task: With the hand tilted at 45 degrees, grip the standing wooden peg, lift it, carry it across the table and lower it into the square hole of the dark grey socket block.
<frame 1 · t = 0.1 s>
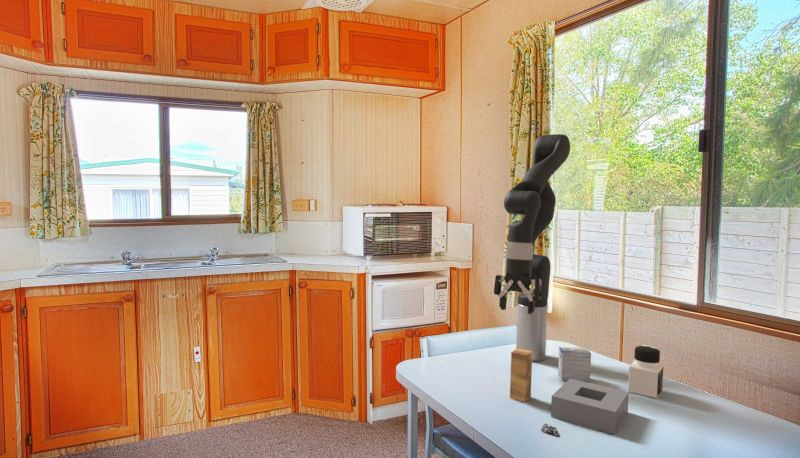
hand: (516, 311, 146), 17 cm above the table, tool pointing down, fingers open, 8 cm apart
medicine box: (573, 379, 139), on the table
wooden peg: (520, 397, 125), on the table
medicine bottle: (645, 392, 131), on the table
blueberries: (552, 434, 107), on the table
socket block: (589, 414, 116), on the table
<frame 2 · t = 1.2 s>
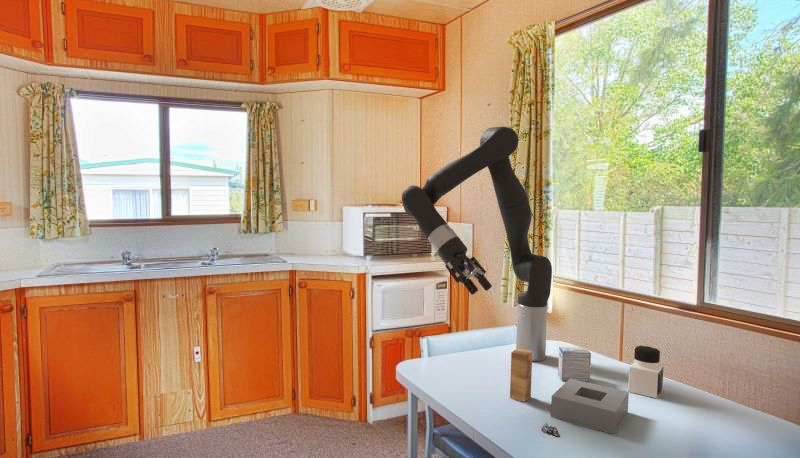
hand: (482, 290, 130), 26 cm above the table, tool tilted 45°, fingers open, 8 cm apart
nothing on the table moved.
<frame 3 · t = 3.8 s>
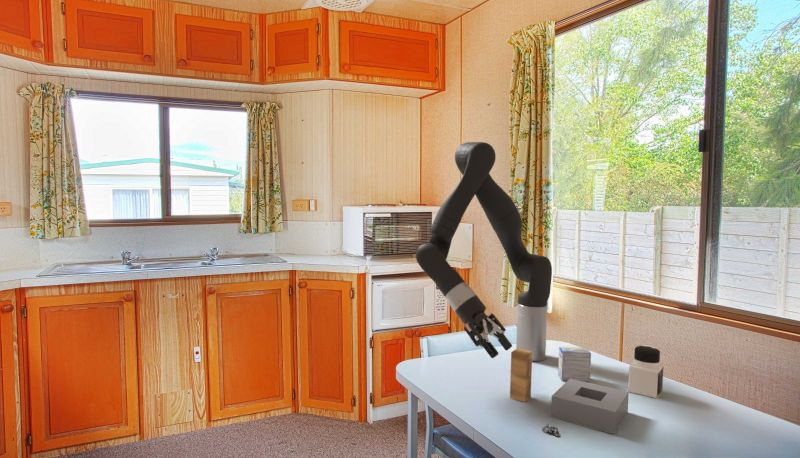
hand: (502, 352, 128), 11 cm above the table, tool tilted 45°, fingers open, 8 cm apart
nothing on the table moved.
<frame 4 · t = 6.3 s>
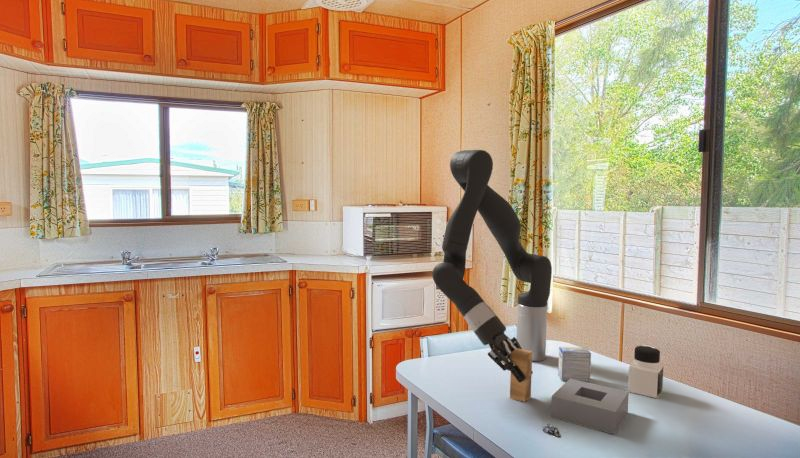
hand: (526, 377, 124), 6 cm above the table, tool tilted 45°, fingers closed on wooden peg, 4 cm apart
wooden peg: (520, 397, 125), on the table, touching gripper
everything else where it was.
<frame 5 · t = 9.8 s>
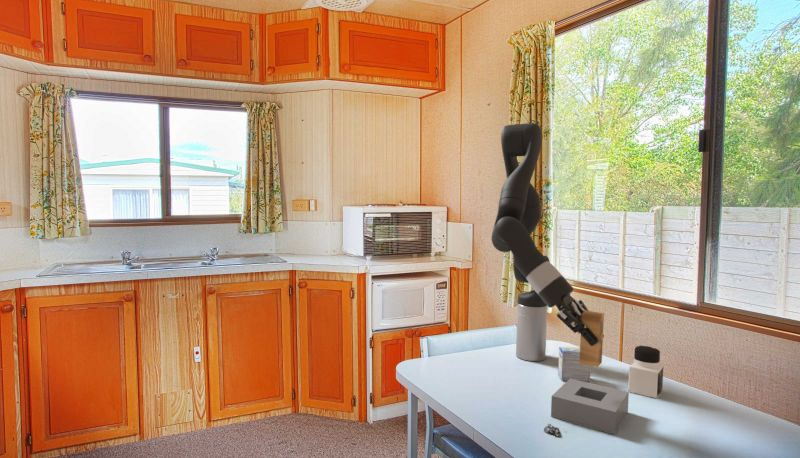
hand: (598, 341, 114), 18 cm above the table, tool tilted 45°, fingers closed on wooden peg, 4 cm apart
wooden peg: (590, 363, 115), point 12 cm above the table, touching gripper
everything else where it was.
when the fingers open (7 cm above the table, at t = 13.2 s): wooden peg stays where it is, resting on socket block.
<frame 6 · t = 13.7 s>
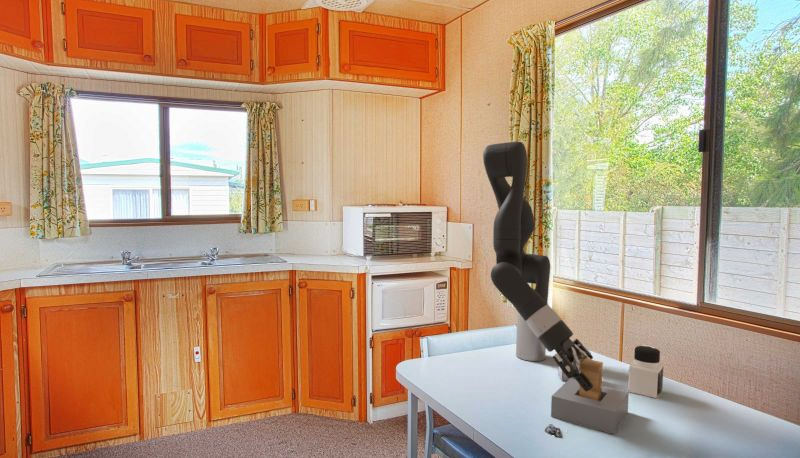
hand: (595, 383, 115), 8 cm above the table, tool tilted 45°, fingers open, 8 cm apart
wooden peg: (589, 411, 116), point 1 cm above the table, touching socket block
everything else where it was.
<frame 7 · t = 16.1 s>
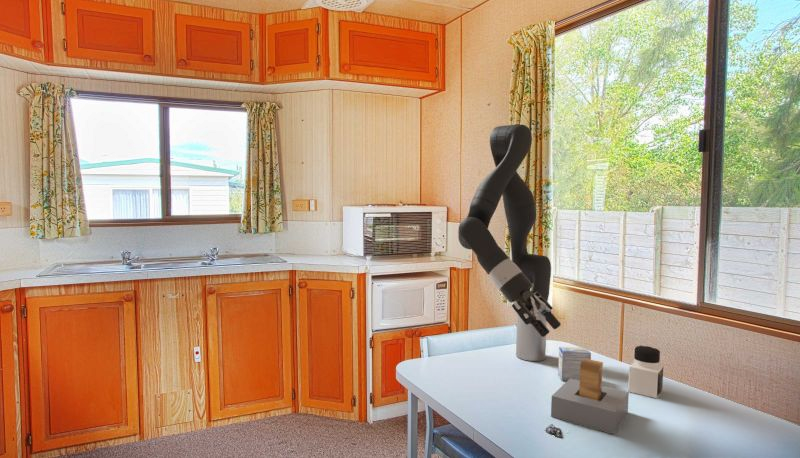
hand: (552, 330, 121), 18 cm above the table, tool tilted 45°, fingers open, 8 cm apart
nothing on the table moved.
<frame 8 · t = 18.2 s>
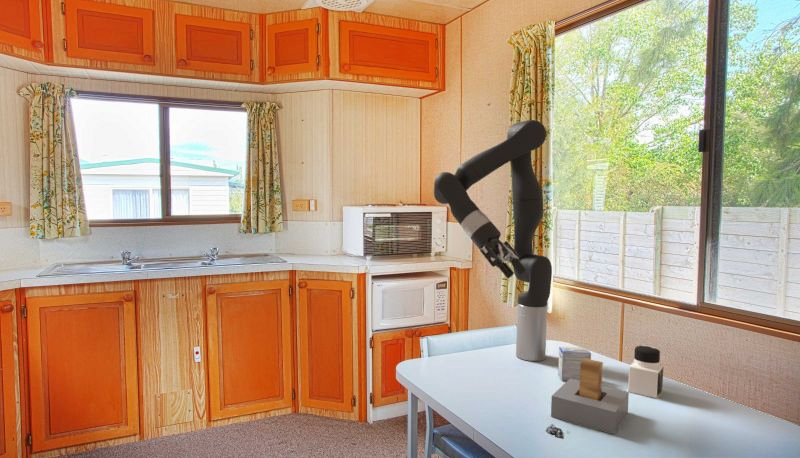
hand: (517, 274, 132), 31 cm above the table, tool tilted 45°, fingers open, 8 cm apart
at the end: wooden peg 0.1 cm off-centre on the socket block, point 0.6 cm above the socket block's base; wooden peg tilted 0°; the gripper is holding nothing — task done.
